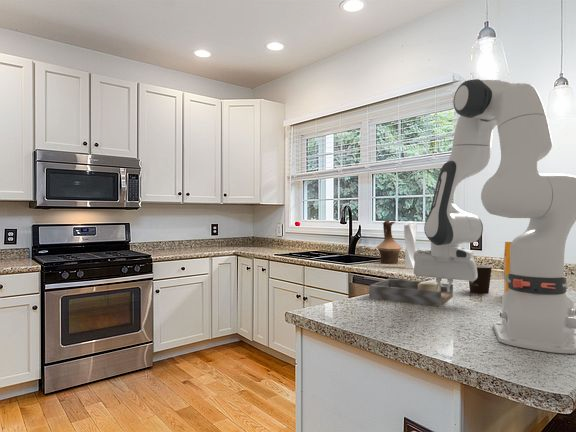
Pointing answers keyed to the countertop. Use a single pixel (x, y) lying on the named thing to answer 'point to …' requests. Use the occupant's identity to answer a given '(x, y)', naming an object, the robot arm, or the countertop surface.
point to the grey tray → (408, 292)
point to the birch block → (428, 286)
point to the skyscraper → (410, 244)
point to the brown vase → (389, 246)
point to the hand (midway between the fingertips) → (444, 291)
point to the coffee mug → (481, 280)
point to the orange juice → (506, 265)
